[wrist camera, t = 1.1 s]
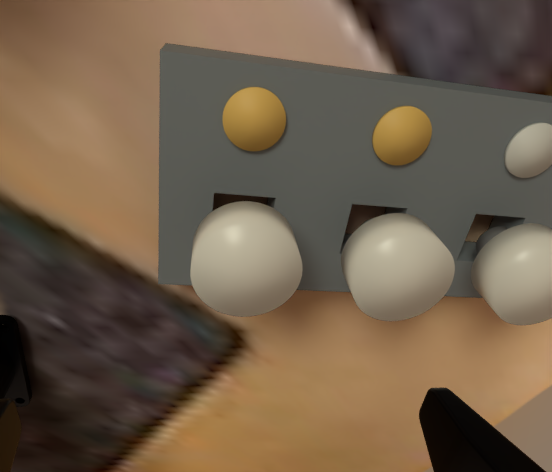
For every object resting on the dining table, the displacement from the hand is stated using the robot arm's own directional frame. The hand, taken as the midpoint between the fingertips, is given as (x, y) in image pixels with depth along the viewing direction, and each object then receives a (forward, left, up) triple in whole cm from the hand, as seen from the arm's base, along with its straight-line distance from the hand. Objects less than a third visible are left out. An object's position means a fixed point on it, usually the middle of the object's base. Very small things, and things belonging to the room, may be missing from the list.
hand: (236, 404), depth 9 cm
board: (+1, -7, -12) cm, 14 cm away
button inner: (-1, -1, -10) cm, 10 cm away
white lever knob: (-1, -13, -10) cm, 16 cm away
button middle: (-1, -7, -10) cm, 12 cm away
